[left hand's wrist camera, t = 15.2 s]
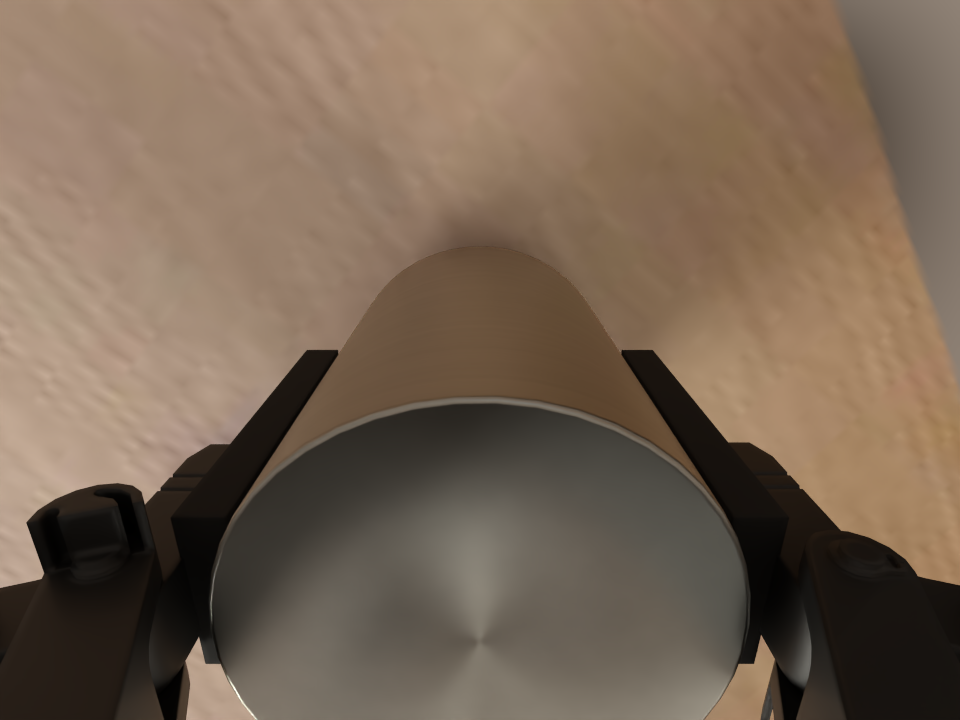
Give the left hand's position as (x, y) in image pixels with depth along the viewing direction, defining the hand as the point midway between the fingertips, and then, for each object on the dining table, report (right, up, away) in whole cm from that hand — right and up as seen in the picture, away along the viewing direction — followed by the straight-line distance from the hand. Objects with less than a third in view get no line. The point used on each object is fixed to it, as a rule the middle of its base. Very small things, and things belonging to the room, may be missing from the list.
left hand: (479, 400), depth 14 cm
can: (0, +1, +2) cm, 2 cm away
